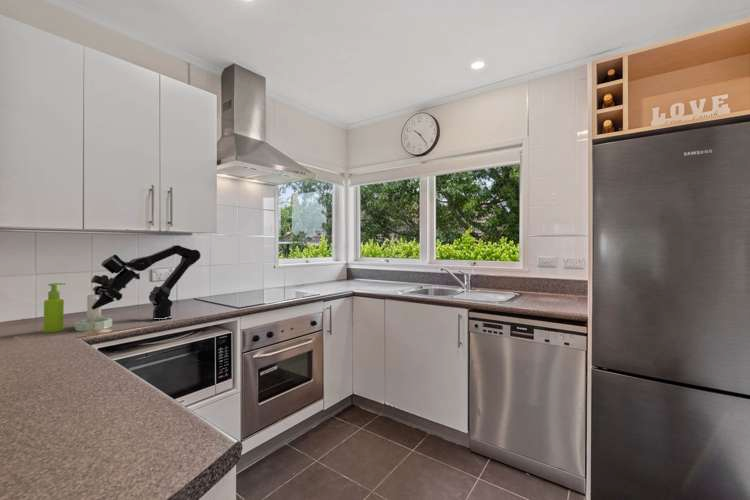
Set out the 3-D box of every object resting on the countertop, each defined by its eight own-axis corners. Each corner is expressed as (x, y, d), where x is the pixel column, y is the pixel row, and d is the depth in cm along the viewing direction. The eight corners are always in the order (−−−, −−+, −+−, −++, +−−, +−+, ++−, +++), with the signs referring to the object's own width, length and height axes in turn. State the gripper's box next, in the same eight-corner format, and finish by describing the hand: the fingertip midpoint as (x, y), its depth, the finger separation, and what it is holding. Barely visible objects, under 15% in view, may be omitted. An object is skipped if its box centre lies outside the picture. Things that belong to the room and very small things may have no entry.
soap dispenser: (69, 329, 145) (70, 282, 145) (52, 333, 138) (53, 284, 138) (57, 329, 145) (57, 282, 145) (39, 333, 138) (40, 283, 139)
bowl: (106, 324, 155) (106, 317, 155) (115, 328, 148) (115, 320, 148) (71, 329, 145) (71, 321, 145) (80, 333, 138) (80, 324, 138)
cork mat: (107, 329, 145) (107, 327, 145) (116, 332, 140) (116, 331, 140) (77, 333, 137) (77, 332, 137) (85, 337, 131) (85, 335, 131)
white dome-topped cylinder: (101, 320, 150) (101, 294, 150) (100, 322, 146) (100, 295, 146) (88, 321, 147) (88, 294, 147) (86, 323, 143) (86, 296, 143)
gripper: (98, 267, 155) (66, 294, 146) (113, 268, 144) (79, 298, 135) (118, 283, 162) (89, 310, 153) (134, 286, 151) (104, 314, 142)
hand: (90, 308), depth 145 cm, fingers closed on white dome-topped cylinder, 4 cm apart
